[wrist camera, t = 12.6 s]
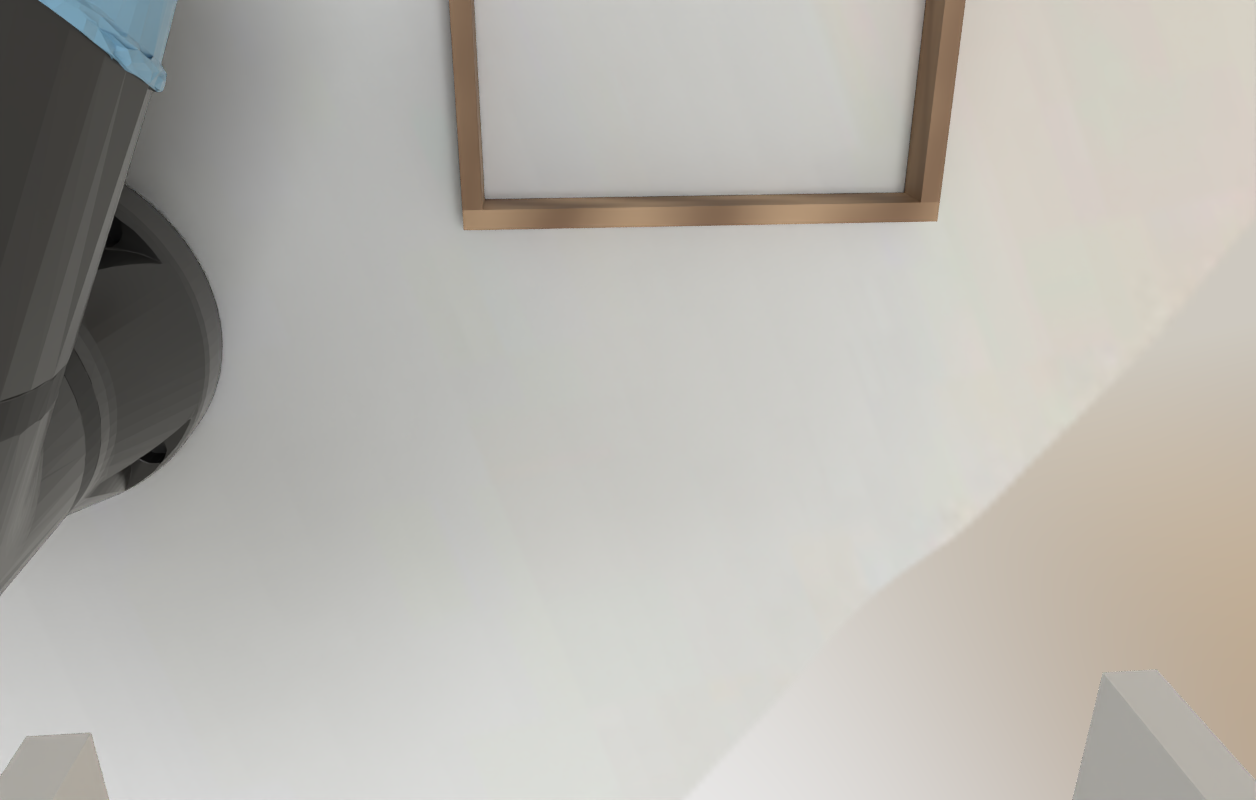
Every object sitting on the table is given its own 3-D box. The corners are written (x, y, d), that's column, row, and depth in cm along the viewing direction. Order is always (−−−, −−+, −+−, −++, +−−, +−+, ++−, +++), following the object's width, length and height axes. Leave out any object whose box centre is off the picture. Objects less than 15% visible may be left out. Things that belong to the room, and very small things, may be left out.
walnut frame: (466, 218, 42) (463, 230, 40) (443, -150, 36) (439, -156, 34) (919, 210, 43) (937, 221, 42) (962, -144, 38) (984, -149, 36)
